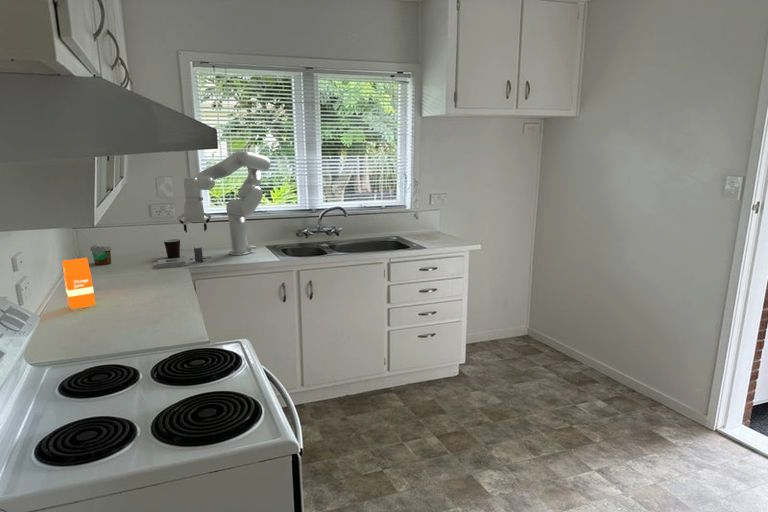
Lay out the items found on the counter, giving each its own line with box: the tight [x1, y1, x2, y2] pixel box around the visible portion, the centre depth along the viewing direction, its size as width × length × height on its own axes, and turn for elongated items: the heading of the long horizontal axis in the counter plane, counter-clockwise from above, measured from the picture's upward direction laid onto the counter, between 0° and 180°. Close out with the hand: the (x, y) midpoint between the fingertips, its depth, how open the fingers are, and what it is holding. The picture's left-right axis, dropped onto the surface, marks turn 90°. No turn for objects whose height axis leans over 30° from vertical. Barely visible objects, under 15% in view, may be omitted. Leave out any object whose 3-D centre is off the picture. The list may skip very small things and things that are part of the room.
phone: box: [190, 255, 212, 261], centre depth 290 cm, size 11×6×1 cm, turn 110°
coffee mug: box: [163, 238, 181, 259], centre depth 293 cm, size 12×9×10 cm
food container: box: [89, 244, 112, 266], centre depth 277 cm, size 12×6×10 cm, turn 68°
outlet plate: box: [156, 257, 187, 269], centre depth 275 cm, size 14×10×2 cm
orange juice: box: [62, 257, 96, 309], centre depth 206 cm, size 8×9×20 cm
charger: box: [193, 246, 204, 263], centre depth 281 cm, size 4×4×8 cm
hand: (195, 231), depth 277 cm, fingers open, 9 cm apart
